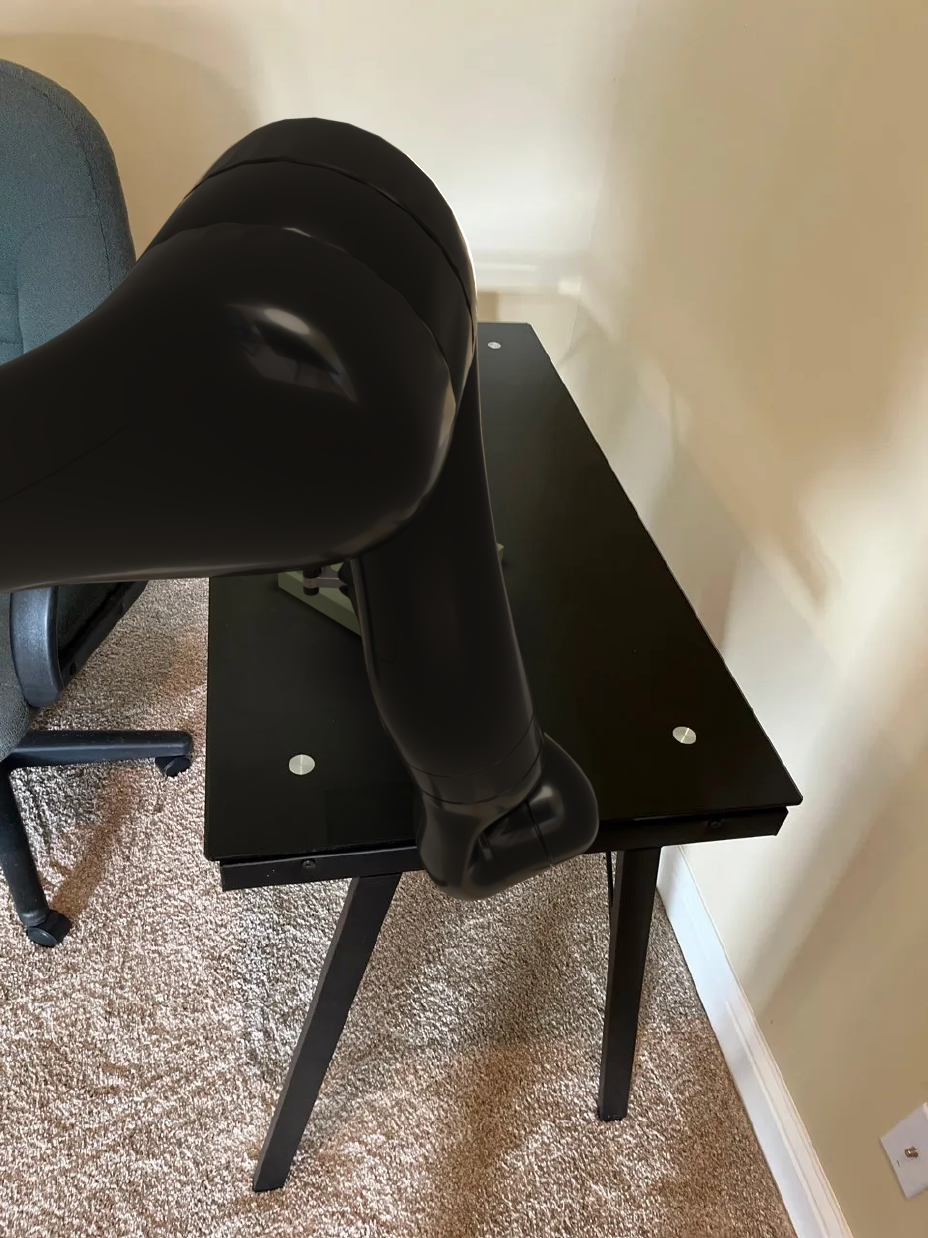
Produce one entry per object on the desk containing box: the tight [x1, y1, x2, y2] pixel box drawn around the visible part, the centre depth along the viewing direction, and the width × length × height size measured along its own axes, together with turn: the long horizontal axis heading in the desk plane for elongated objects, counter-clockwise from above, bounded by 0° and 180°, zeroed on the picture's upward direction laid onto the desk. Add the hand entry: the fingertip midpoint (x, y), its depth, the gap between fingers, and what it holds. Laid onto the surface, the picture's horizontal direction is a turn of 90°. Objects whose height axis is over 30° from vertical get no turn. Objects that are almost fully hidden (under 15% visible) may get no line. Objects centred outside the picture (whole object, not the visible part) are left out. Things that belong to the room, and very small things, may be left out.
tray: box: [277, 542, 505, 637], centre depth 90 cm, size 20×16×3 cm
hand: (358, 499), depth 70 cm, fingers closed on milkshake, 4 cm apart
